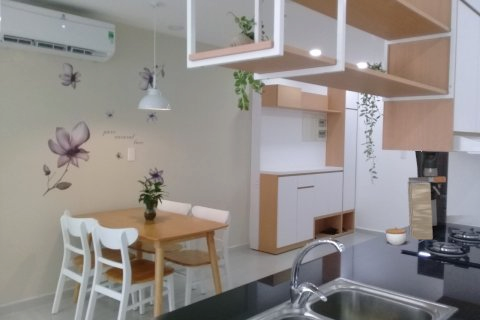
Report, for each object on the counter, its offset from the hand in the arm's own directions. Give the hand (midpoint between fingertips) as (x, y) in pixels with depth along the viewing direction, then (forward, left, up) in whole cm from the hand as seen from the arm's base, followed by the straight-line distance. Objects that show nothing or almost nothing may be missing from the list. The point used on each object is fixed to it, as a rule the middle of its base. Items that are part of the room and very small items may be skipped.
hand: (430, 200), depth 272 cm
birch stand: (+26, -11, -18) cm, 33 cm away
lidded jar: (+46, -27, -19) cm, 56 cm away
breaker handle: (+26, -6, +14) cm, 30 cm away
